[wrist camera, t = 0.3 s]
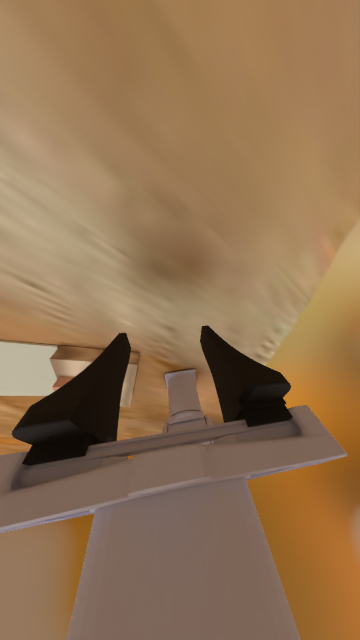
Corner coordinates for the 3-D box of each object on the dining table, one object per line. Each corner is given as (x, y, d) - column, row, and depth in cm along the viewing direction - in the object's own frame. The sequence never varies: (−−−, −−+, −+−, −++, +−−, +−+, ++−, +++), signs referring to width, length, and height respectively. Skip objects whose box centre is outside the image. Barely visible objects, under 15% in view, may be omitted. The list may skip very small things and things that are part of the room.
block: (95, 377, 26) (91, 387, 24) (97, 397, 30) (93, 406, 28) (59, 376, 24) (52, 387, 23) (66, 397, 28) (61, 407, 27)
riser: (139, 352, 28) (137, 364, 25) (131, 394, 37) (129, 406, 35) (60, 345, 24) (49, 358, 21) (74, 394, 33) (67, 407, 31)
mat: (58, 345, 24) (57, 346, 23) (73, 394, 33) (72, 395, 33) (-68, 333, 19) (-72, 335, 19) (-10, 393, 29) (-12, 395, 29)
